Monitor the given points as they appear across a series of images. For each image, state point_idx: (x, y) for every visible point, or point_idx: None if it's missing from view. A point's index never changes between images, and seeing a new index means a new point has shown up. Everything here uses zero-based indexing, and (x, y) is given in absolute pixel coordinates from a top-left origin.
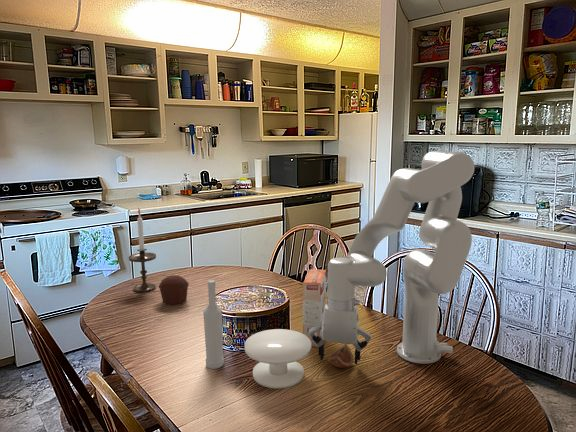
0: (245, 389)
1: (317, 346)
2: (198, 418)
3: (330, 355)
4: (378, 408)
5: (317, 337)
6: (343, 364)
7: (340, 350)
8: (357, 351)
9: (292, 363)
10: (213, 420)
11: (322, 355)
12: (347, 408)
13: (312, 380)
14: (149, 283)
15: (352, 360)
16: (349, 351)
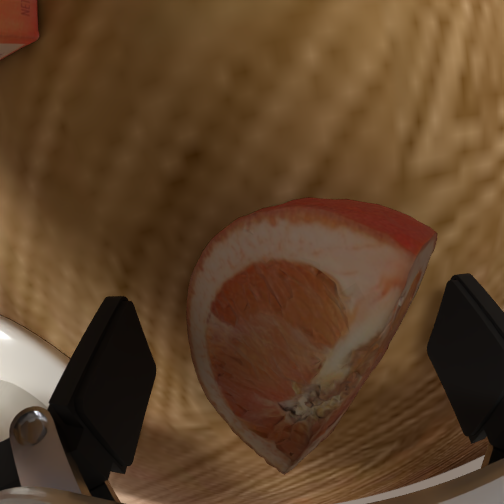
0: None
1: (18, 48)
2: None
3: (192, 294)
4: (432, 456)
5: (9, 484)
6: (342, 414)
7: (321, 400)
8: (485, 437)
9: (20, 361)
10: None
11: (144, 402)
12: (342, 482)
13: (176, 427)
14: None
15: (419, 284)
16: (423, 264)
